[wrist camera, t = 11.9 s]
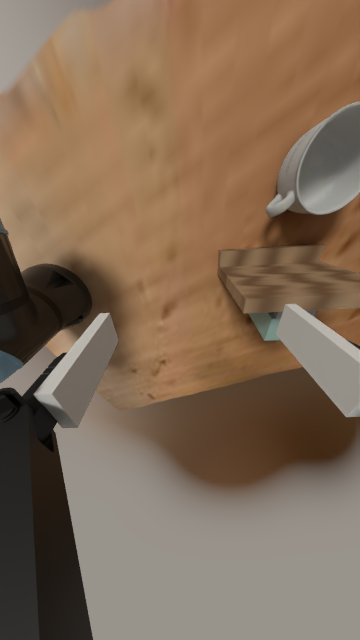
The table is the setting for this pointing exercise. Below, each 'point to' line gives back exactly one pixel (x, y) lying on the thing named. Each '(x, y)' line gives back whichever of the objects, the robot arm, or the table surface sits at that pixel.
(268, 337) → the cabinet
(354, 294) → the wall board
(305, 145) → the teacup
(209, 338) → the table surface
